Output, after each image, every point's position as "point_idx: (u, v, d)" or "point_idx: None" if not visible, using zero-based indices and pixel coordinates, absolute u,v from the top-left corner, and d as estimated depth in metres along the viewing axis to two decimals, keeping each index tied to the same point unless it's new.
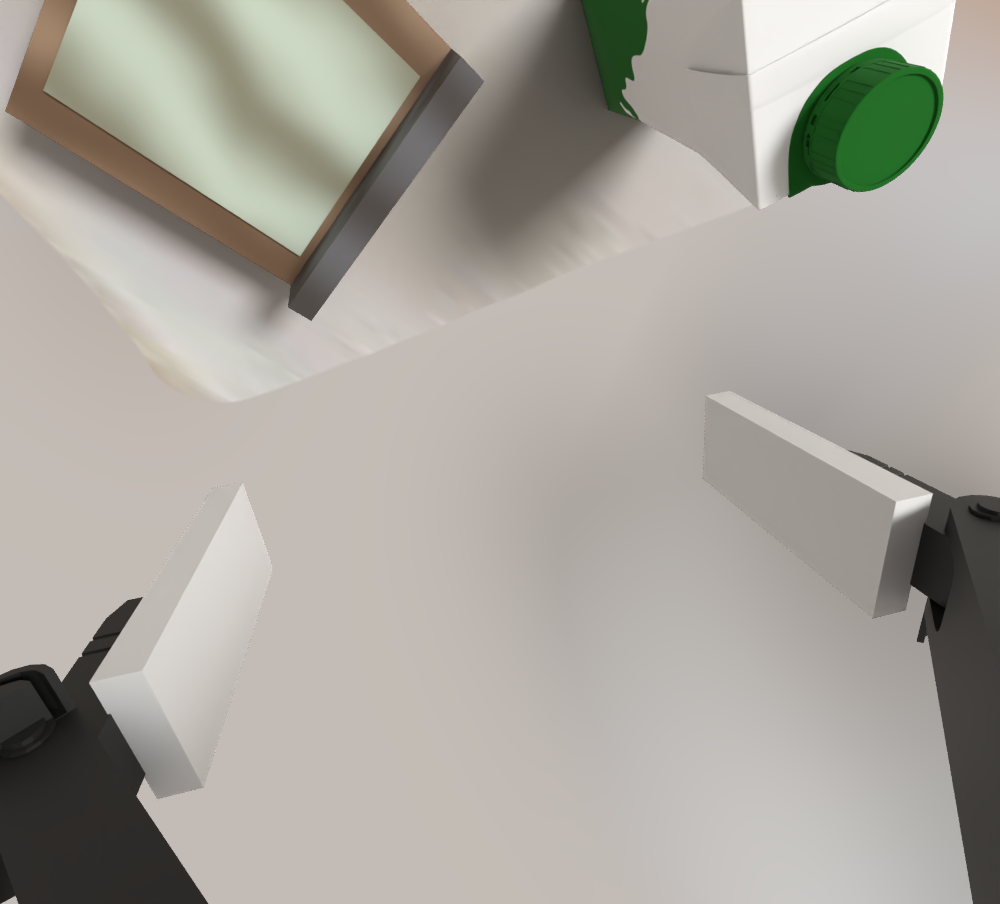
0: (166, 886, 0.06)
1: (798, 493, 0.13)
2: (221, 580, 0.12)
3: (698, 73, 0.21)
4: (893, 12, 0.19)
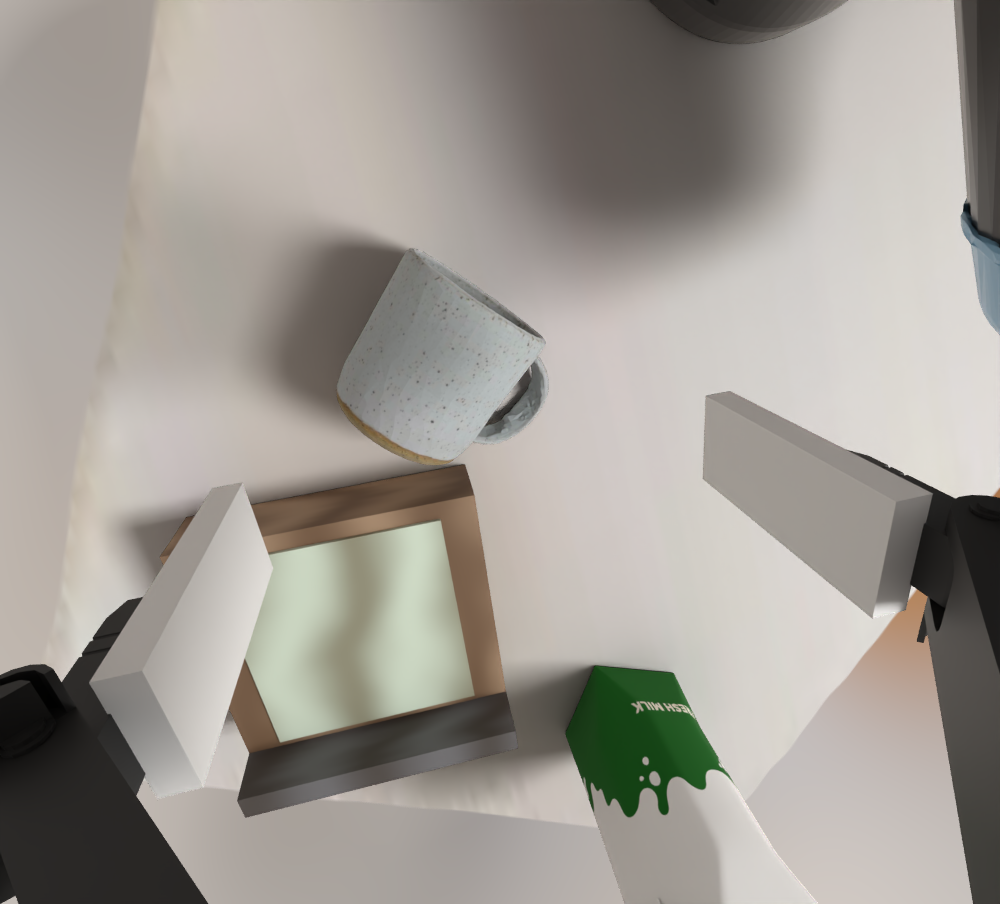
0: (167, 886, 0.06)
1: (798, 493, 0.13)
2: (221, 580, 0.12)
3: None
4: None
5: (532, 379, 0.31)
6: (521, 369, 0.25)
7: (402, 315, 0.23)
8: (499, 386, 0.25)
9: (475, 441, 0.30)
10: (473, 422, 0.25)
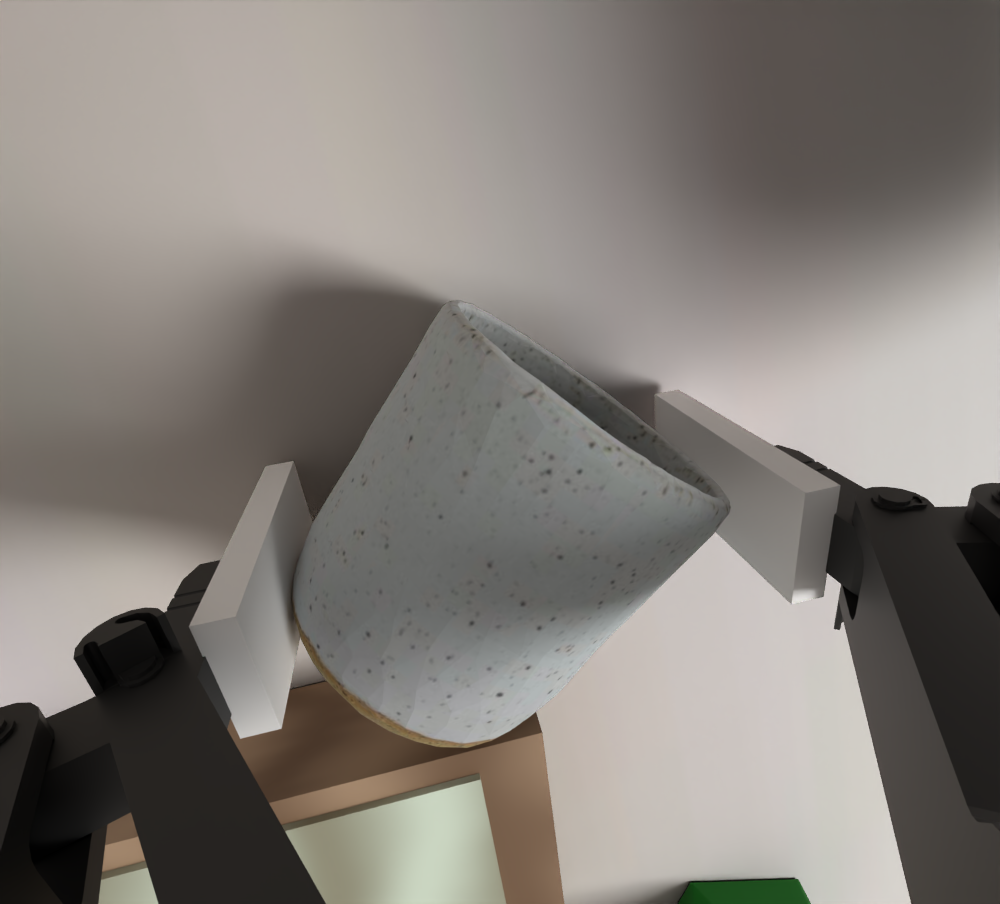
0: (254, 818, 0.06)
1: (730, 487, 0.13)
2: (283, 547, 0.13)
3: None
4: None
5: None
6: (684, 560, 0.12)
7: (437, 472, 0.10)
8: (641, 603, 0.11)
9: None
10: None
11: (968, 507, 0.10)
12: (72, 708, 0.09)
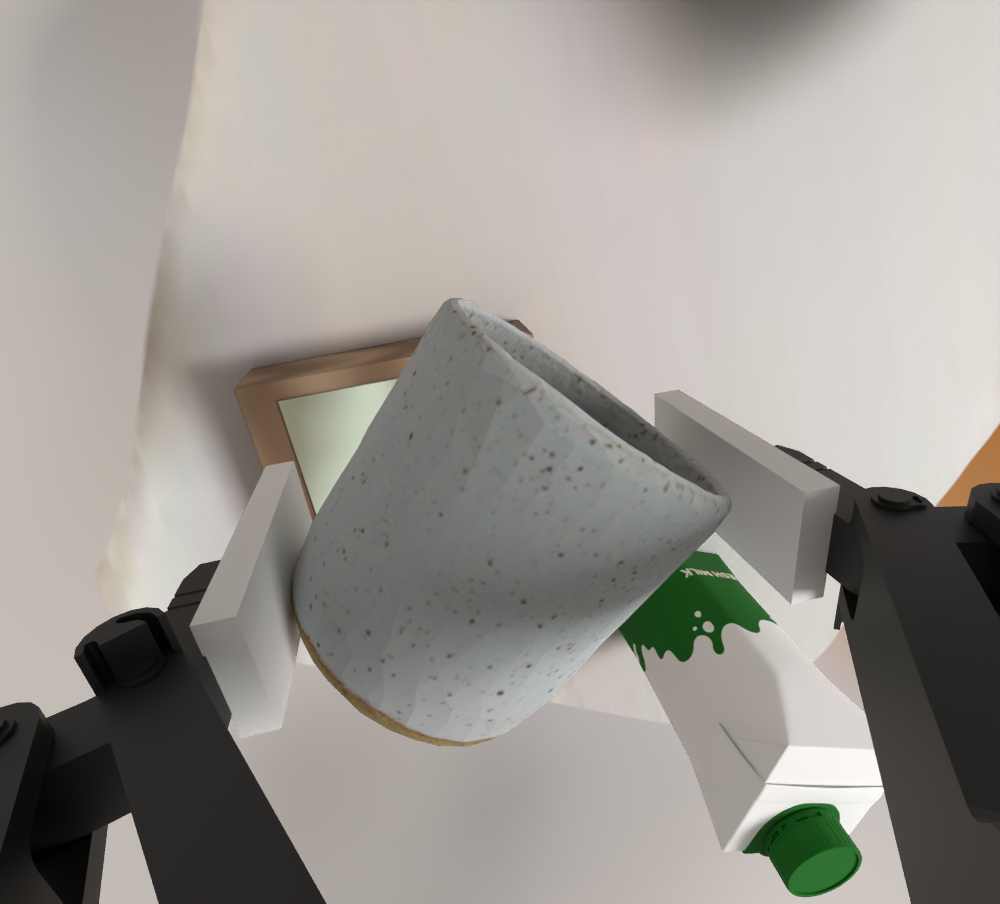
0: (254, 817, 0.06)
1: (730, 486, 0.13)
2: (284, 547, 0.13)
3: (726, 737, 0.29)
4: (847, 794, 0.28)
5: None
6: (685, 558, 0.12)
7: (437, 469, 0.10)
8: (642, 601, 0.11)
9: None
10: (580, 667, 0.12)
11: (968, 507, 0.10)
12: (72, 708, 0.09)
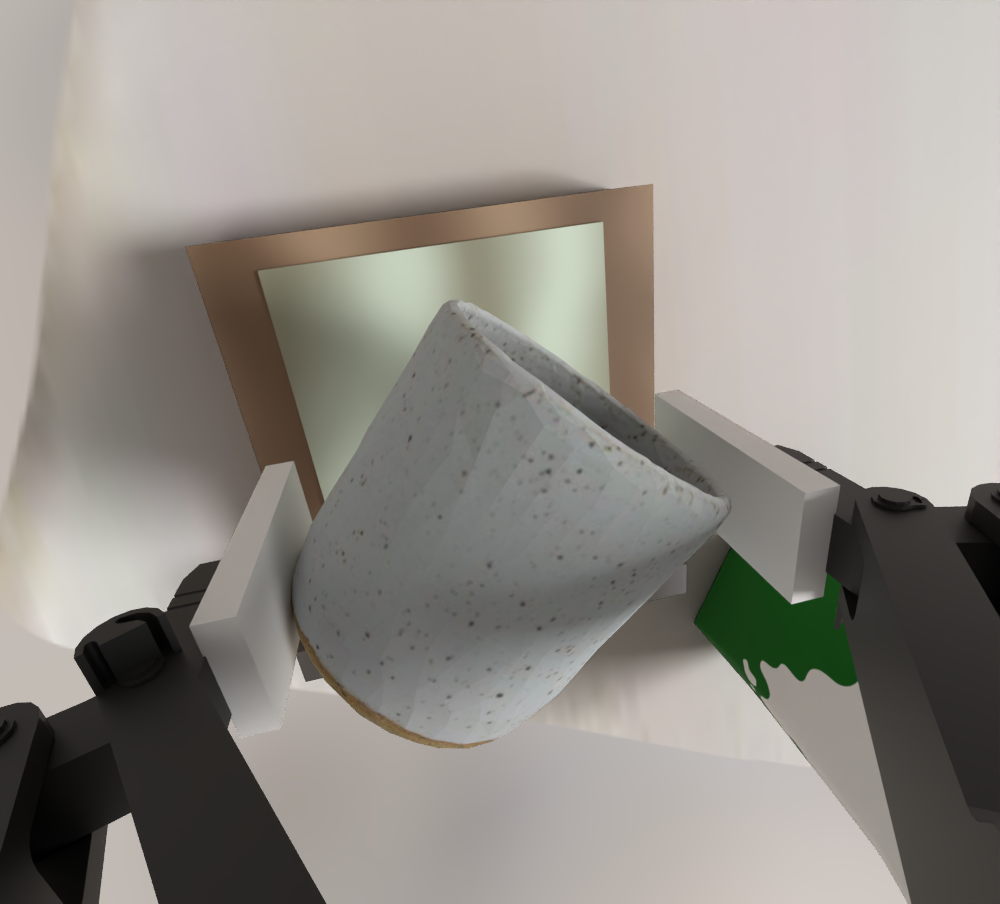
0: (253, 819, 0.06)
1: (730, 486, 0.13)
2: (283, 547, 0.13)
3: None
4: None
5: None
6: (685, 560, 0.12)
7: (437, 472, 0.10)
8: (642, 603, 0.11)
9: None
10: (580, 668, 0.12)
11: (968, 507, 0.10)
12: (72, 708, 0.09)
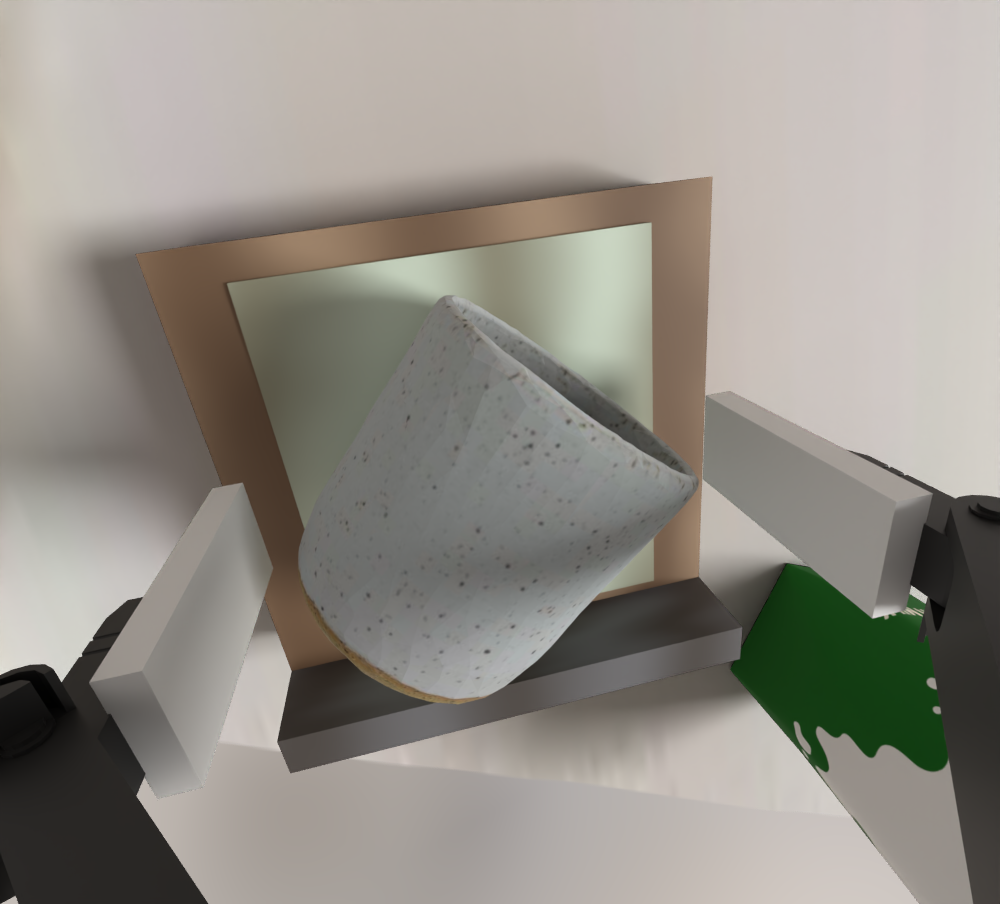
0: (166, 885, 0.06)
1: (798, 493, 0.13)
2: (221, 580, 0.12)
3: None
4: None
5: None
6: (657, 533, 0.13)
7: (432, 447, 0.11)
8: (617, 571, 0.12)
9: None
10: (561, 631, 0.13)
11: None
12: None
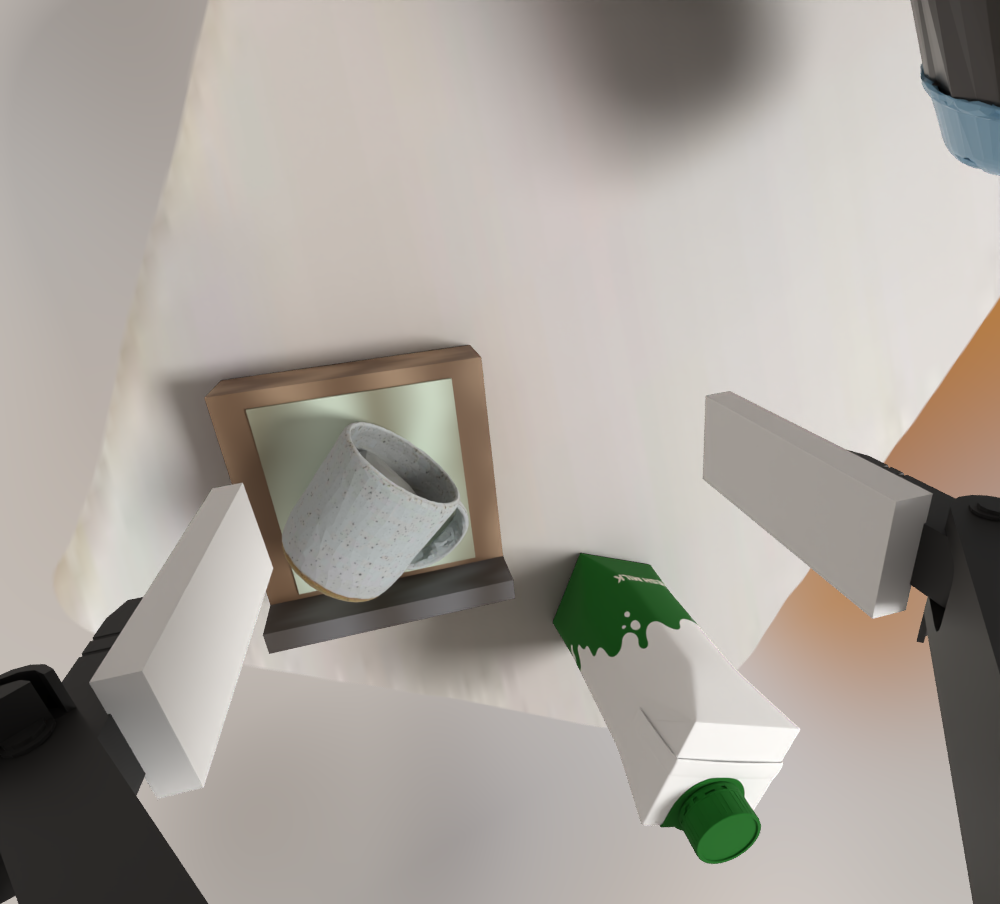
0: (167, 884, 0.06)
1: (798, 493, 0.13)
2: (221, 580, 0.12)
3: (646, 720, 0.32)
4: (749, 769, 0.32)
5: (456, 512, 0.36)
6: (437, 527, 0.30)
7: (336, 492, 0.28)
8: (418, 542, 0.30)
9: None
10: (396, 569, 0.30)
11: None
12: None
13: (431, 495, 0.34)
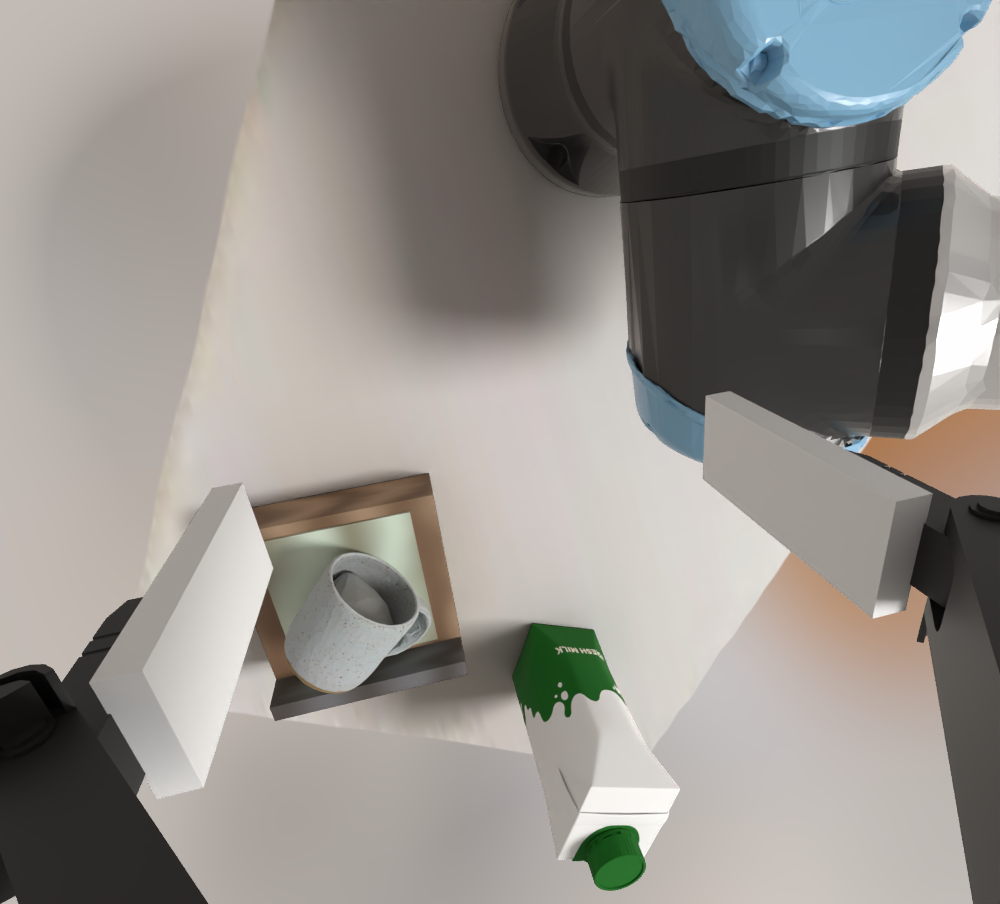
0: (166, 886, 0.06)
1: (798, 493, 0.13)
2: (221, 580, 0.12)
3: (561, 779, 0.42)
4: (640, 819, 0.41)
5: None
6: (399, 639, 0.40)
7: (321, 620, 0.38)
8: (384, 651, 0.40)
9: None
10: (369, 670, 0.40)
11: None
12: None
13: (399, 603, 0.44)
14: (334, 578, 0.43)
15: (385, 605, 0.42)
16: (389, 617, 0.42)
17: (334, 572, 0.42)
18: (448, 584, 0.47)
